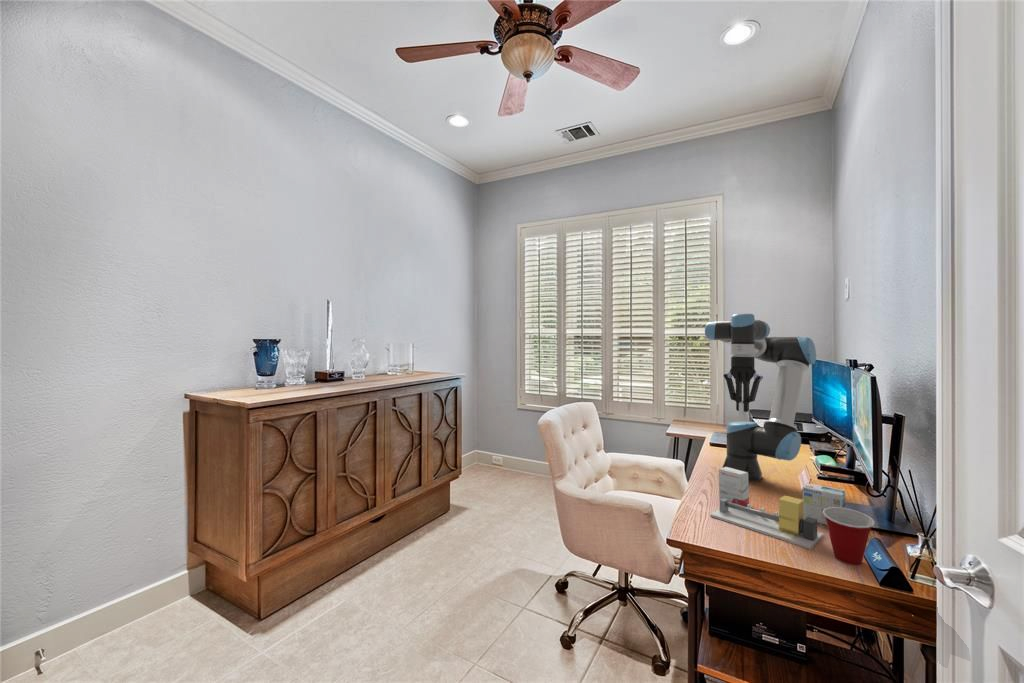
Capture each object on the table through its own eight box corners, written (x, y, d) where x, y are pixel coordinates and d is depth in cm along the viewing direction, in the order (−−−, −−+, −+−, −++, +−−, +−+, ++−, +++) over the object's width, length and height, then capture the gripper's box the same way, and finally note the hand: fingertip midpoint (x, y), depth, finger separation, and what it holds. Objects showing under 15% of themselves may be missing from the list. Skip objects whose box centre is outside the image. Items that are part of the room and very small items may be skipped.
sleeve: (779, 529, 125) (779, 499, 125) (784, 525, 128) (784, 495, 128) (798, 535, 121) (798, 504, 121) (803, 530, 124) (803, 500, 124)
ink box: (749, 505, 147) (749, 472, 147) (742, 508, 144) (742, 474, 144) (725, 497, 154) (725, 466, 154) (718, 500, 151) (718, 468, 151)
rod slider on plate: (710, 516, 137) (710, 498, 137) (726, 507, 145) (726, 490, 145) (810, 549, 116) (810, 527, 116) (823, 536, 123) (823, 516, 123)
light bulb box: (846, 523, 133) (846, 489, 133) (843, 529, 128) (843, 495, 128) (805, 513, 140) (805, 481, 140) (801, 519, 135) (801, 486, 135)
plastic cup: (823, 562, 109) (823, 516, 109) (821, 545, 118) (821, 503, 118) (877, 575, 103) (877, 527, 103) (871, 557, 112) (871, 512, 112)
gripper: (719, 355, 154) (719, 418, 154) (758, 356, 144) (758, 424, 144) (728, 355, 159) (728, 416, 159) (766, 356, 149) (766, 421, 149)
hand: (742, 420), depth 151 cm, fingers closed
